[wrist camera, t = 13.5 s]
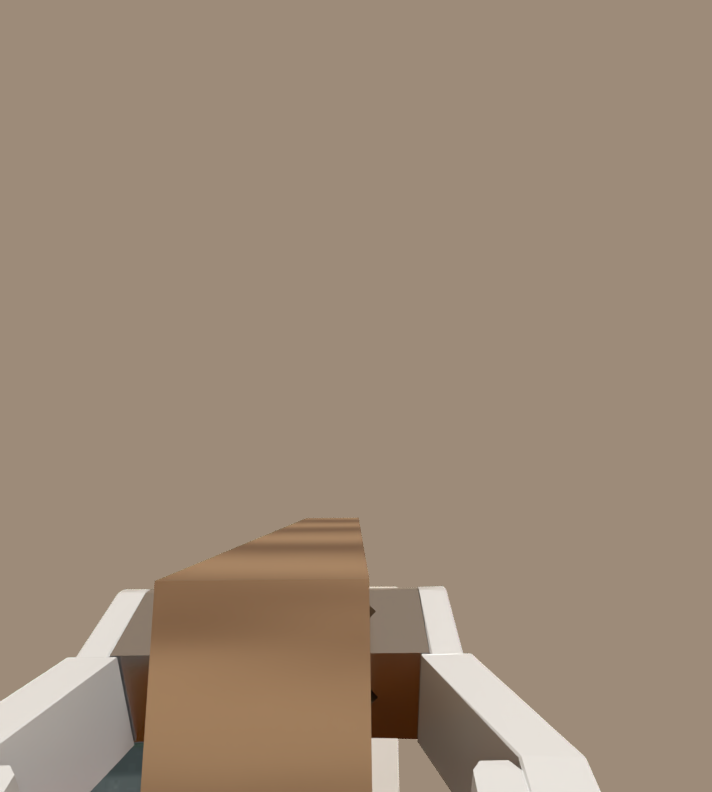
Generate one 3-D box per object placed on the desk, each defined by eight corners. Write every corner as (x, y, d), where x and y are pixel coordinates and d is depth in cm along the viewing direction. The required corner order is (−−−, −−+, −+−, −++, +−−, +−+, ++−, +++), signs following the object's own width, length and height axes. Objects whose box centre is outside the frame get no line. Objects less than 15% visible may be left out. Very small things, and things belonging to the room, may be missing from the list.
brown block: (372, 825, 6) (369, 579, 7) (137, 829, 6) (155, 581, 7) (359, 572, 28) (358, 517, 29) (305, 573, 28) (306, 518, 29)
